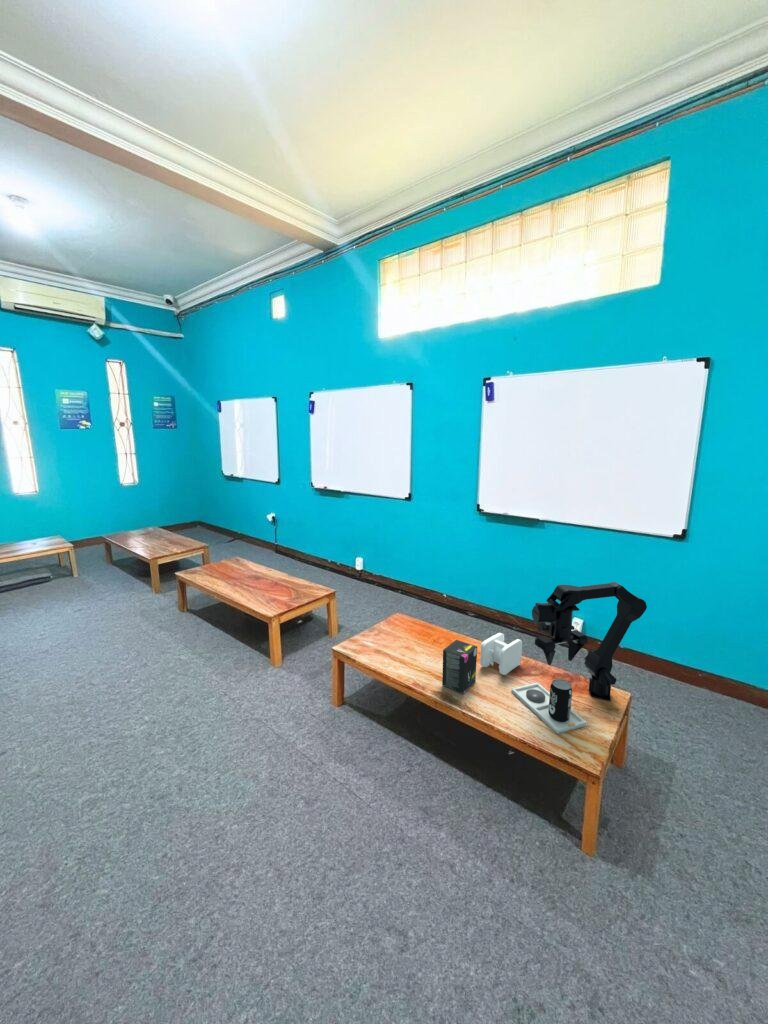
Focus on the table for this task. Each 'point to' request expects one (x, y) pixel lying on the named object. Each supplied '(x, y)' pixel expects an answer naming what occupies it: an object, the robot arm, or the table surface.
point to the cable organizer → (501, 653)
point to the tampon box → (459, 666)
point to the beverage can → (560, 700)
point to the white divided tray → (545, 707)
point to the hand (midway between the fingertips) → (559, 662)
